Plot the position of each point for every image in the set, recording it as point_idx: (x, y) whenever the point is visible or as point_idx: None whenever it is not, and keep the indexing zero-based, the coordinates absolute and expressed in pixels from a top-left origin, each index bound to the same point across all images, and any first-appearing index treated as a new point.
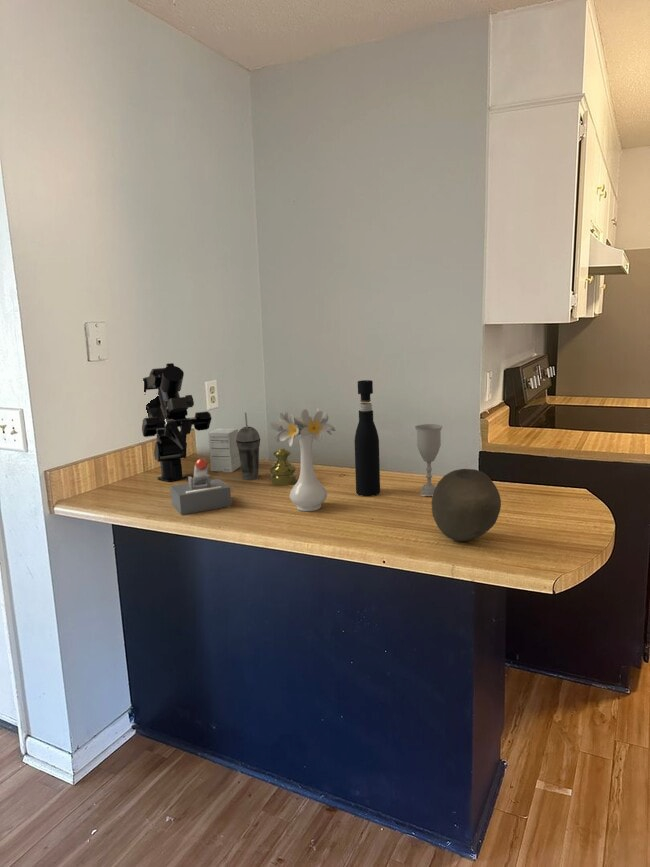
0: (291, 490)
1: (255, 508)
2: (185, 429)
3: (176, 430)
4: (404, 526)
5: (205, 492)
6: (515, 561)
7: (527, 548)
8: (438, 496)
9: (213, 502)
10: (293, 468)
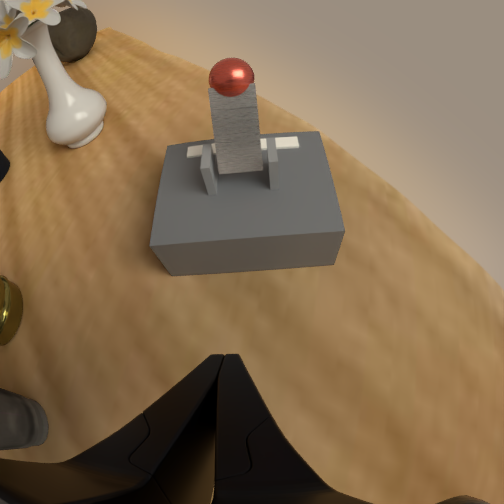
0: (92, 105)
1: (148, 153)
2: (94, 469)
3: (250, 489)
4: (78, 75)
5: None
6: (96, 37)
7: None
8: (86, 17)
9: None
10: None
